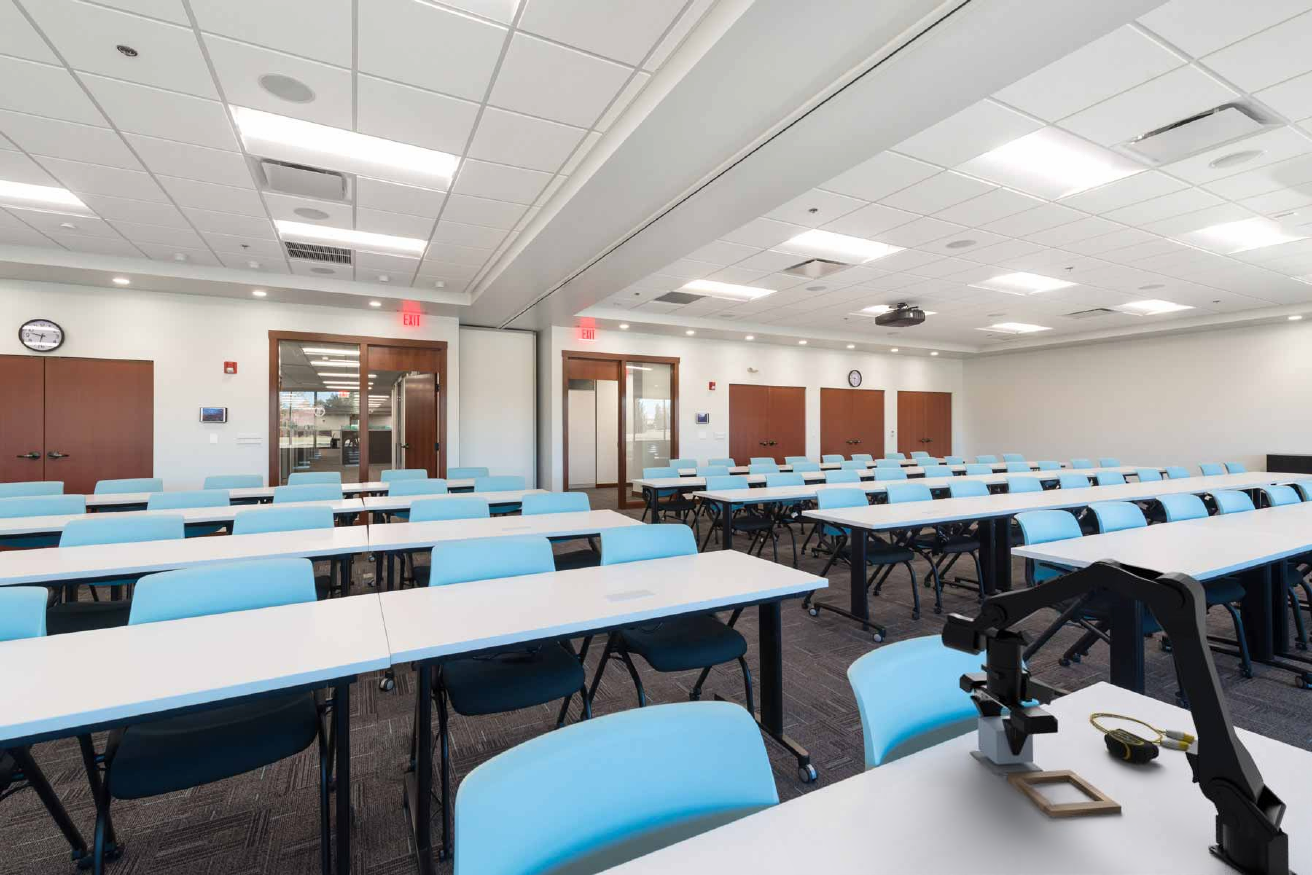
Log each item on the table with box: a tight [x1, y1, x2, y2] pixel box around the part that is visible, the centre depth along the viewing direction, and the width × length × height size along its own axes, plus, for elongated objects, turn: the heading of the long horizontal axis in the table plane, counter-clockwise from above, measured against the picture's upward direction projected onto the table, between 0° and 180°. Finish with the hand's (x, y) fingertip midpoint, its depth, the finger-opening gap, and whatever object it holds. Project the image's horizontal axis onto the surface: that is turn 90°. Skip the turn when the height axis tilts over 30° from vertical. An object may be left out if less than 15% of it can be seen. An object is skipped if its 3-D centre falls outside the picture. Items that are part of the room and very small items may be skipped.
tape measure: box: [1103, 728, 1160, 764], centre depth 106 cm, size 7×7×4 cm
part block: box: [977, 715, 1034, 764], centre depth 104 cm, size 5×7×6 cm
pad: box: [969, 750, 1044, 776], centre depth 104 cm, size 7×9×1 cm
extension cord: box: [1089, 712, 1195, 752], centre depth 114 cm, size 12×16×2 cm
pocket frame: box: [1006, 769, 1122, 818], centre depth 94 cm, size 10×12×1 cm
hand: (1005, 747), depth 104 cm, fingers closed on part block, 5 cm apart
